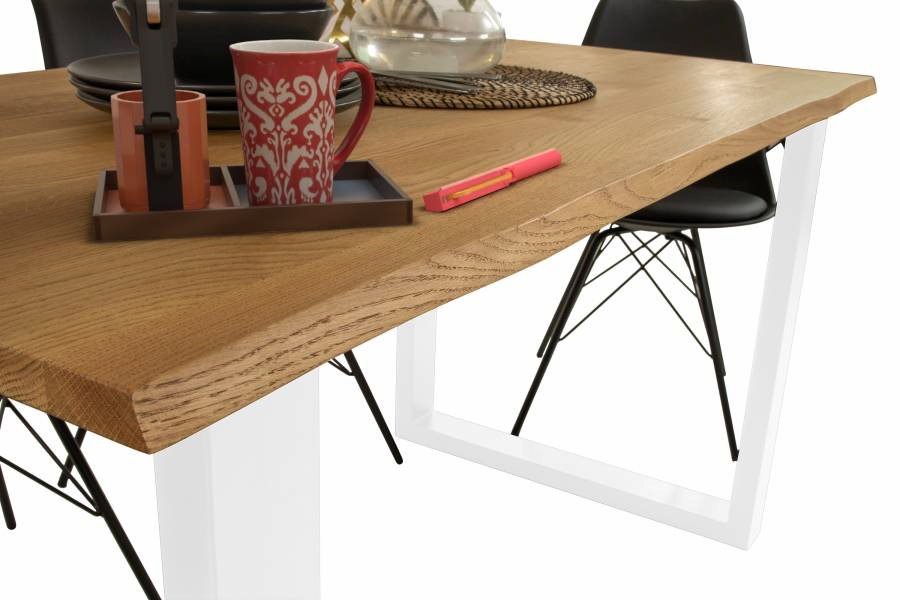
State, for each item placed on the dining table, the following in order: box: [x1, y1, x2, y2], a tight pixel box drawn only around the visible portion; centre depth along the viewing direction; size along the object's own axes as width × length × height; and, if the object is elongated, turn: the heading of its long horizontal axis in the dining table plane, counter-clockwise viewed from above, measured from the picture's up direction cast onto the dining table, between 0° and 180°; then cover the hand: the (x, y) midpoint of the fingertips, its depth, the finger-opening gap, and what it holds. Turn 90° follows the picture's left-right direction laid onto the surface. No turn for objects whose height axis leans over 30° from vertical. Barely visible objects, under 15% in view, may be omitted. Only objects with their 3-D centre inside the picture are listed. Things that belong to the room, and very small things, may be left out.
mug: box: [228, 39, 376, 206], centre depth 86 cm, size 13×9×14 cm
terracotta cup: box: [110, 89, 211, 212], centre depth 84 cm, size 7×7×9 cm
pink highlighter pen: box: [422, 147, 563, 213], centre depth 97 cm, size 24×2×5 cm
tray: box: [92, 158, 414, 244], centre depth 87 cm, size 25×16×2 cm, turn 106°
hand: (165, 200), depth 85 cm, fingers closed on terracotta cup, 7 cm apart
